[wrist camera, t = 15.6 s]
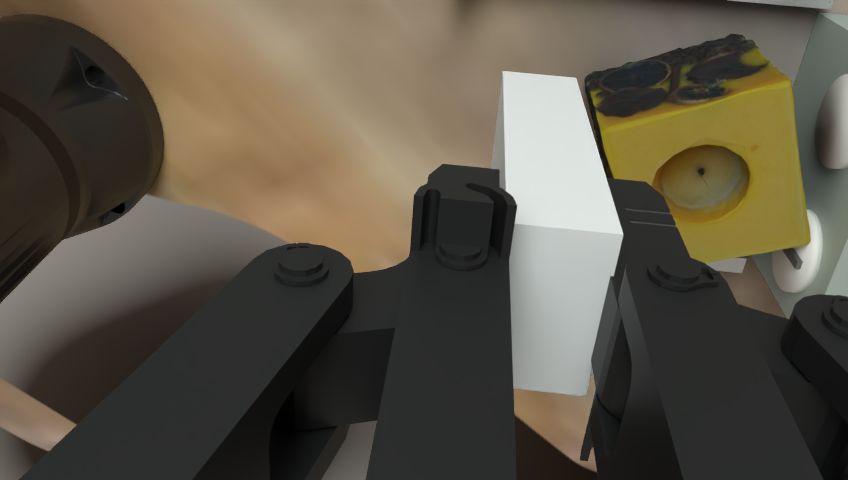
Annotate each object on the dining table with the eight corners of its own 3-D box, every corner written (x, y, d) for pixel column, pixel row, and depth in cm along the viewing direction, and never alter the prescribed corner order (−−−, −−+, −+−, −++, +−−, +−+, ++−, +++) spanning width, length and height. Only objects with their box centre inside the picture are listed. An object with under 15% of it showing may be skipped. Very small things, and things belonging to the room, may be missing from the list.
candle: (762, 172, 50) (817, 247, 41) (611, 209, 52) (634, 287, 44) (744, 26, 45) (802, 76, 37) (580, 73, 48) (598, 130, 39)
